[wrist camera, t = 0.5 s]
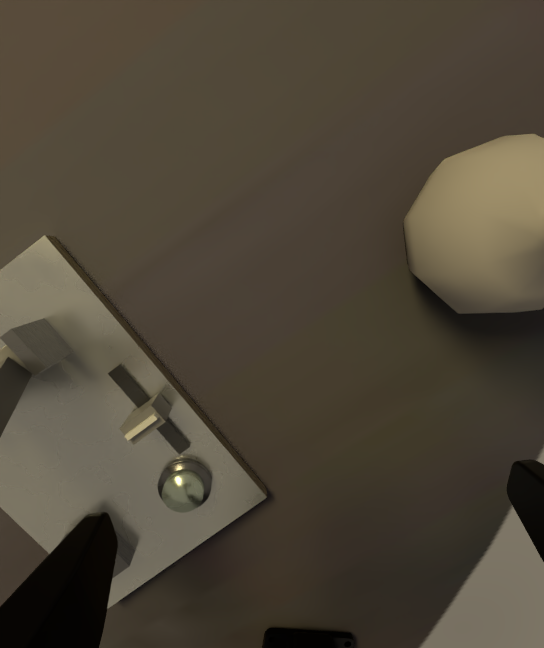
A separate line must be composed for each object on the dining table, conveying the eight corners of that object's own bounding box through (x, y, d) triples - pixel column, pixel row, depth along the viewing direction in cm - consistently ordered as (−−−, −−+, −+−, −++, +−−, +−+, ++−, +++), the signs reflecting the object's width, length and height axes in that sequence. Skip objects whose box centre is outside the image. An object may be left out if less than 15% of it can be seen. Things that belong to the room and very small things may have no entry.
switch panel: (266, 487, 25) (269, 532, 21) (112, 595, 26) (88, 657, 22) (54, 236, 21) (9, 232, 17) (-119, 371, 22) (-200, 397, 18)
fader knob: (172, 408, 22) (164, 424, 20) (142, 429, 22) (132, 447, 20) (158, 392, 22) (149, 407, 20) (129, 414, 22) (117, 431, 20)
